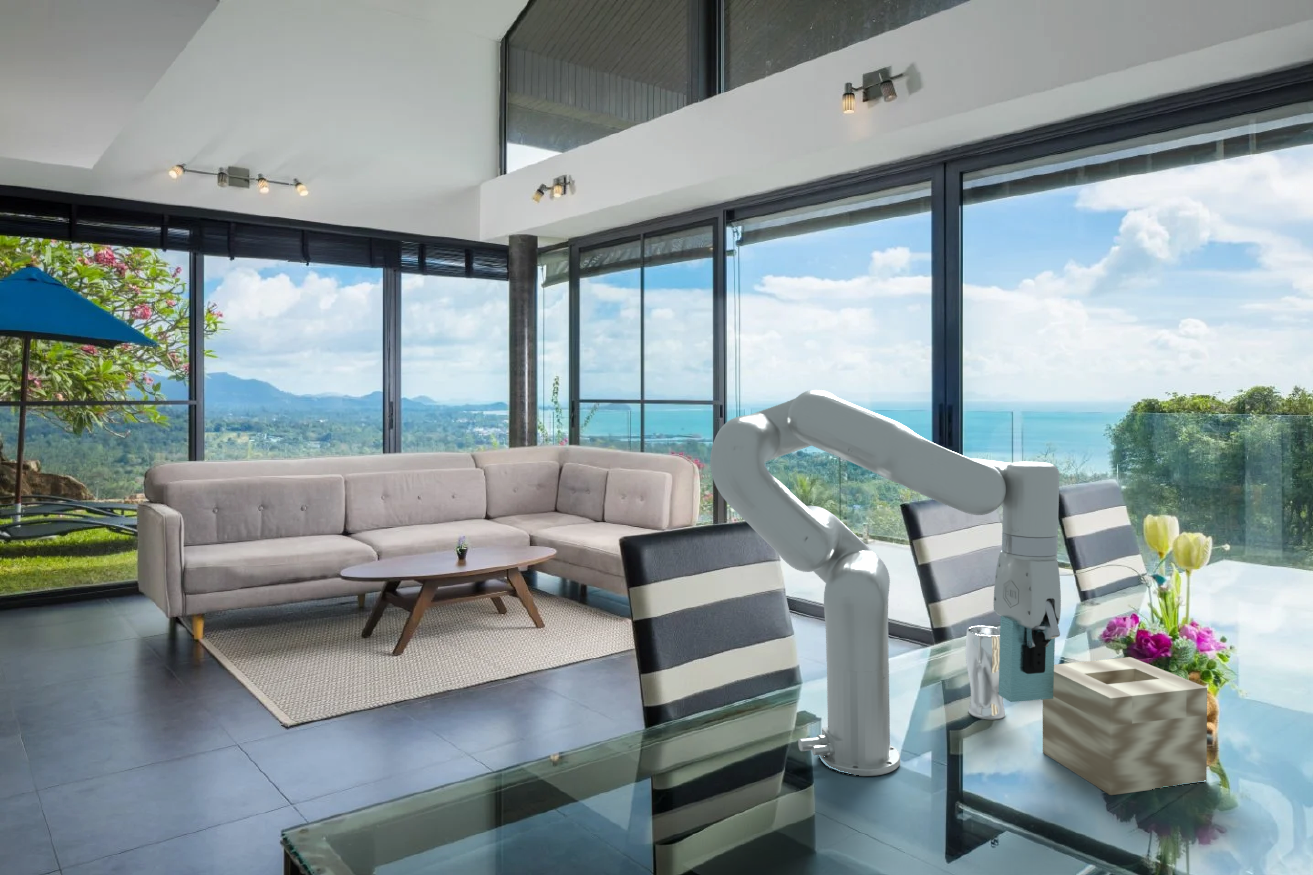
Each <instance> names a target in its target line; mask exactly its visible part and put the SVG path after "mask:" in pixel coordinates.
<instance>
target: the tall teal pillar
mask: <svg viewBox="0 0 1313 875" xmlns="http://www.w3.org/2000/svg"><path fill="white" fill-rule="evenodd" d="M999 620H1000V625H999V626H1000V627H999V628H1000V660H999V695H1000V696H1001V697H1003V699H1005V700H1006V701H1008V702H1010V703H1014V702H1018V703H1019V702H1026V701H1027V702H1030V701H1040V700H1042V701H1043V699H1053V687H1054V665H1055V651H1056V650H1055V649H1056V648H1055V646H1056V645H1055V644H1056V643H1055V642H1056V638H1054V639H1051V641H1050V642H1049V645H1048V647H1046V657H1045V672H1044V673H1034V674H1026V673H1025V672H1024V646H1028V645H1027V628H1026V627H1023V626H1021V625H1019V624H1018V623H1017V621H1016V620H1013V619H1011V618H1009V617H1007V616H1000V619H999ZM1038 632H1040V630H1035V635H1036V634H1037V633H1038Z"/></svg>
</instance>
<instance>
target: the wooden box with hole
mask: <svg viewBox="0 0 1313 875" xmlns="http://www.w3.org/2000/svg"><path fill="white" fill-rule="evenodd" d="M1207 737H1208V687H1207V686H1205V685H1203V684H1199V683H1196V682H1194V681H1193V680H1189V679H1187V678H1183V677H1181V676H1179V675H1177V674H1174V673H1172V672H1169V671H1167V670H1164V669H1162V668H1159V667H1157V666H1154V665H1151V664H1149V663H1147V662H1144V661H1141V660H1140V659H1137V658H1134V657H1131V656H1128V657H1127V656H1126V657H1117V658H1108V659H1107V658H1106V659H1099V660H1098V659H1096V660H1088V661H1087V660H1086V661H1077V662H1068V663H1059V664H1058V663H1057V664H1054V687H1053V699H1042V753H1043V754H1044V755H1046V756H1047V757H1049V758H1051V759H1052V760H1054V761H1055V762H1057V763H1059V764H1060V765H1061V766H1063V767H1065V768H1066V769H1068V770H1070V771H1071V772H1073V773H1074V774H1076V775H1077V776H1079V777H1081V778H1082V779H1084V780H1086V781H1087V782H1088V783H1090V784H1092V785H1093V786H1095V787H1097V788H1098V789H1100V790H1101V791H1103V792H1104V793H1106V794H1108V795H1109V796H1114V795H1116V796H1117V795H1124V794H1129V793H1136V792H1143V791H1145V792H1146V791H1150V790H1151V791H1153V790H1156V789H1155V788H1160V789H1162V788H1161V787H1163V786H1173V785H1178V784H1179V785H1180V784H1182V783H1192V782H1198V781H1204V780H1206V781H1207V775H1208V774H1207V771H1208V770H1207V769H1208V768H1207V767H1208V766H1207V761H1208V760H1207V758H1208V757H1207V756H1208V755H1207V754H1208V750H1207V749H1208V748H1207V747H1208V746H1207V745H1208V738H1207ZM1152 789H1153V790H1152Z"/></svg>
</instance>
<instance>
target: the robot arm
mask: <svg viewBox="0 0 1313 875" xmlns="http://www.w3.org/2000/svg"><path fill="white" fill-rule="evenodd" d="M808 447H813V448H816V449H819V450H821V451H824V452H826V453H827V454H830V455H831V454H832V455H833V456H836V457H838V458H840V459H842V460H845V461H848V462H850V463H852V464H855V465H856V466H859V467H861V468H863V469H866V470H868V471H870V472H872V473H875V474H876V475H878V476H881V478H882V477H883V478H885V479H887V480H889V481H892V482H895V483H897V484H899V485H902V486H903V487H905V488H907V489H910V490H912V491H914V492H916V493H918V494H920V495H923V496H924V497H927V498H930V499H932V500H934V501H936V502H938V503H941V504H943V505H946V506H948V507H951V508H952V509H954V510H957V511H960V512H963V513H965V514H969V515H971V516H984V515H988V514H992V512H995V511H996V510H997V509H998V508H999V507H1001V508H1002V531H1001V532H1002V533H1001V551H999V555H998V558H997V564H996V570H995V576H994V577H995V578H994V586H993V587H994V590H993V610H994V612H995V614H996V615H998V616H999V617H1001V616H1007V617H1009V618H1011V619H1013V620H1016V621H1017V623H1018V624H1019V625H1021V626H1023V627H1026V628H1027V645H1028V646H1024V672H1025V673H1026V674H1034V673H1044V672H1045V657H1046V647H1048V645H1049V642H1050V641H1051V639H1054V638H1055V639H1056V638H1058V637H1060V636H1061V631H1060V628H1059V624H1060V619H1061V611H1062V610H1061V609H1062V604H1061V603H1062V600H1061V598H1062V597H1061V596H1062V594H1061V578H1060V569H1059V564H1058V545H1059V544H1058V543H1059V542H1058V541H1059V540H1058V539H1059V536H1058V535H1059V508H1060V507H1059V506H1060V503H1059V502H1060V471H1059V469H1058V467H1057V466H1055V465H1054V464H1052V463H1050V462H1042V461H1015V462H1007V461H1006V462H1004V461H998V460H990V459H982V458H971V457H968V456H965V455H962V454H960V453H958V452H955V451H952V450H951V449H949V448H946V447H944V446H941V445H939V444H937V443H934V442H933V441H930V440H928V439H926V438H924V437H923V436H921V435H919V434H917V433H916V432H914V431H913V430H912V429H910V428H909V427H908V426H906V425H904V424H902V423H901V422H898V421H896V420H894V419H891V418H890V417H887V416H885V415H881V414H879V413H876V412H874V411H871V410H869V409H866V408H864V407H862V406H860V405H857V404H854V403H852V402H849V401H847V400H845V399H843V398H839V397H838V396H836V395H835V394H833V393H832V392H829V391H827V390H823V389H810V390H807V391H803V392H802V393H800V394H799V395H797V396H796V397H795V398H792V399H790V400H787V401H786V402H783V403H780V404H776V405H774V406H771V407H768V408H765V409H763V410H759V411H757V412H754V413H751V414H744V415H739V416H736V417H733V418H731V419H730V420H728V421H726V422H725V423H724V424H723V425H722V426H721V427H720V428H719V430H718V432H717V434H716V436H715V438H714V440H713V444H712V446H711V452H710V459H709V460H710V463H709V464H710V465H709V466H710V472H711V477H712V480H713V482H714V486H715V487H716V489H717V491H718V493H720V496H721V497H722V498H723V499H724V501H725V502H726V503H727V504H728V505H729V506H730V508H731V509H732V510H733V511H734V512H735V513H737V515H739V517H741V518H742V519H743V521H744V522H746V523H747V524H748V525H749V527H751V528H752V530H754V532H756V534H758V536H759V537H760V538H762V540H764V541H765V543H767V544H768V546H769V547H771V548H772V549H773V550H774V551H775V552H776V553H777V554H778V556H780V558H781V559H783V561H784V562H785V563H786V564H788V565H789V566H790V567H791V568H793V569H795V570H796V571H800V572H803V573H811V572H813V573H814V574H816V576H817V577H818V578H820V579H821V580H822V581H823V582H824V583H825V585H824V592H823V611H824V622H825V623H824V624H825V645H826V646H825V653H826V654H825V656H826V658H825V659H826V690H827V691H826V693H827V695H826V699H827V726H826V727H821V733H820V734H817V735H816V736H815V737H800V738H798V740H797V744H798V749H799V751H800V752H806V751H812V754H813V756H818V755H820V756H821V758H822V759H823V760H824V761H825V762H826V763H827V764H828V765H829V766H831V767H833V768H836V769H838V770H840V771H844V772H848V773H851V774H855V775H854V776H856V775H859V777H875V776H881V775H882V776H883V775H885V774H886V775H887V774H889V773H892V772H894V771H895V770H897V769H898V767H900V765H901V754H900V751H899V750H898V749H897V748H896V747H894V746H893V745H891V728H890V726H891V725H890V724H891V722H890V714H891V713H890V663H889V662H890V661H889V654H890V652H889V651H890V650H889V595H890V593H889V592H890V586H891V585H890V583H891V582H890V581H891V580H890V579H891V578H890V574H889V570H888V568H887V565H886V564H885V562H884V561H883V560H882V559H881V558H880V557H879V555H878V554H876V552H874V551H873V550H872V548H871V547H869V546H868V545H867V544H866V543H865V542H864V541H862V539H860V538H859V536H857V535H856V533H854V532H853V531H852V530H851V529H850V528H849V527H848V526H847V525H846V524H844V523H843V522H842V521H841V519H839V518H838V517H837V515H835V514H833V513H832V512H830V511H829V510H827V509H825V508H824V507H821V506H817V505H806V504H805V503H804V502H802V501H801V500H800V499H799V498H798V497H797V496H796V495H794V494H793V492H791V491H790V489H789V488H788V487H786V485H785V484H784V483H782V482H781V481H780V480H779V479H778V478H776V477H775V476H773V474H772V473H770V471H769V469H768V468H767V467H766V464H765V463H766V462H769V461H772V460H775V459H777V458H780V457H782V456H786V455H789V454H791V453H795V452H798V451H800V450H803V449H807V448H808ZM1035 630H1040V632H1038V633H1037V634H1036V635H1035ZM824 756H825V757H824Z"/></svg>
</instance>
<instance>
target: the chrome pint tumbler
mask: <svg viewBox="0 0 1313 875" xmlns="http://www.w3.org/2000/svg"><path fill="white" fill-rule="evenodd" d="M999 660H1000V627H997V626H991V625H973V626H969V627H967V629H966V639H965V663H966V669H967V675H968V680H969V686H970V698H969V699H970V701H969V704H968V713H969V715H970V716H972V717H975V718H977V719H981V720H987V721H988V720H989V721H996V720H1001V719H1003V718H1005V717H1006V711H1005V705H1004V700H1003V699H1004V698H1003V697H1001V696H1000V695H999Z"/></svg>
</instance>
